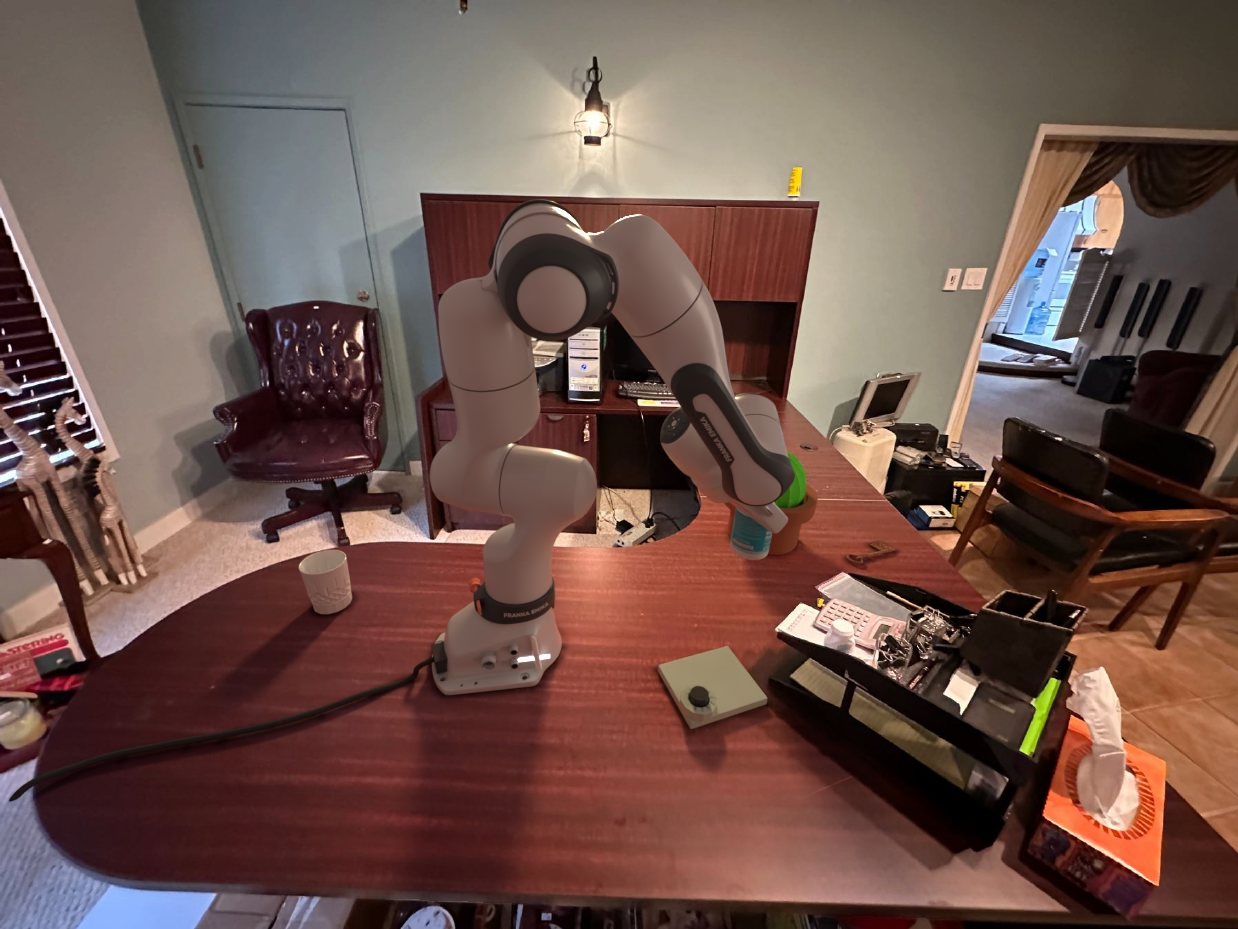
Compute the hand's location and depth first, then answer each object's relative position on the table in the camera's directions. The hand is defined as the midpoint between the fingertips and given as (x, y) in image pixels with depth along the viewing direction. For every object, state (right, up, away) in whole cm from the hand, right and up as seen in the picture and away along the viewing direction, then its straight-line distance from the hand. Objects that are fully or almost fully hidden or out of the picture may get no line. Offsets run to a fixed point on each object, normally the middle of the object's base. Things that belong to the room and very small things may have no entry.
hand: (757, 515), depth 94 cm
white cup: (-83, -18, +4) cm, 85 cm away
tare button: (-14, -27, -17) cm, 35 cm away
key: (+35, -12, +27) cm, 46 cm away
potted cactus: (+10, -9, +33) cm, 35 cm away
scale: (-11, -28, -11) cm, 32 cm away
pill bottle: (-1, -8, +3) cm, 8 cm away
